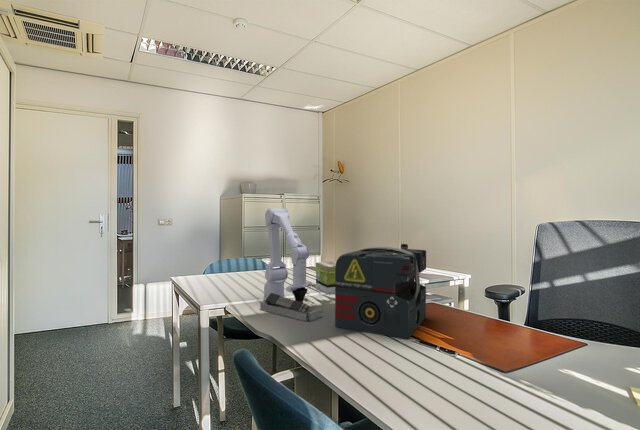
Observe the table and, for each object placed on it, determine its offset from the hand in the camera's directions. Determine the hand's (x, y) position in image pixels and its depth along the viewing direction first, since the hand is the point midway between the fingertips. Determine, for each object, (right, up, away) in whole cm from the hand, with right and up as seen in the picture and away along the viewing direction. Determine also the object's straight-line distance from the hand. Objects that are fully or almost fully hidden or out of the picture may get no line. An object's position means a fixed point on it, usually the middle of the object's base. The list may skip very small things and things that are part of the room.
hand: (299, 305), depth 158 cm
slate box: (-4, -2, -5) cm, 6 cm away
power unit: (+33, -3, -17) cm, 37 cm away
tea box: (+14, -2, +36) cm, 39 cm away
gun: (-4, -1, -3) cm, 5 cm away
